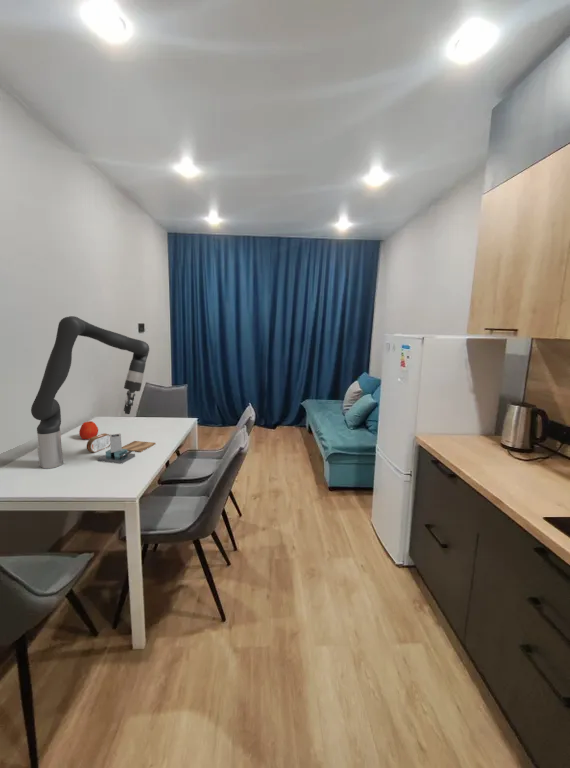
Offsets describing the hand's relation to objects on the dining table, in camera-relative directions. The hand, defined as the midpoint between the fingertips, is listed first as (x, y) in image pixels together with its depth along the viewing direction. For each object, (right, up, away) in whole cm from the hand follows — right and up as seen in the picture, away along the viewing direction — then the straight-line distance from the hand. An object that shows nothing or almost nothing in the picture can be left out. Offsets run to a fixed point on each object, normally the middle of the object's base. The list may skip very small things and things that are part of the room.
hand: (126, 412), depth 172 cm
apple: (-42, -19, +42) cm, 63 cm away
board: (-6, -22, +26) cm, 35 cm away
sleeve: (-9, -20, +8) cm, 24 cm away
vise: (-9, -25, +9) cm, 28 cm away
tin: (-24, -23, +22) cm, 40 cm away
